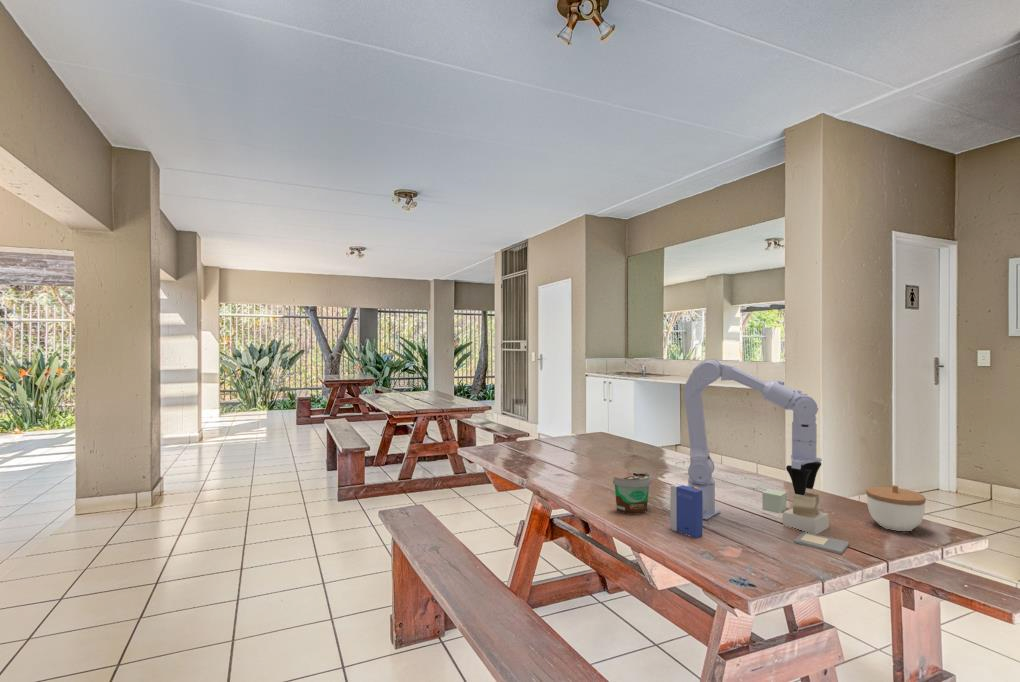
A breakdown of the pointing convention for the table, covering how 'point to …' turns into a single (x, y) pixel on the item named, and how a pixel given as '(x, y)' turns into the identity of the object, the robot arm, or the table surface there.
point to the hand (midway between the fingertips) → (804, 491)
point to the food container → (632, 493)
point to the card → (822, 542)
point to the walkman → (686, 510)
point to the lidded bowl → (895, 507)
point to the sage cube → (774, 500)
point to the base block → (806, 522)
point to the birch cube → (806, 504)
